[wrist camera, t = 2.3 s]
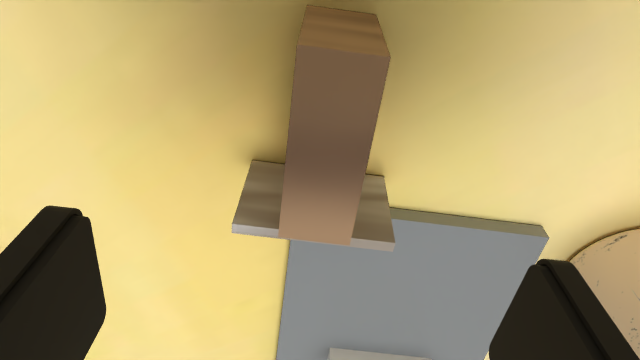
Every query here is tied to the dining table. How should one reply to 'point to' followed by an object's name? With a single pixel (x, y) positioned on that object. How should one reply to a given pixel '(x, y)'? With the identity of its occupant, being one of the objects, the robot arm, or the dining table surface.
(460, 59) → the dining table surface
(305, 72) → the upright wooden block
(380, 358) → the tile
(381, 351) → the slate board
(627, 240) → the teacup with lid
